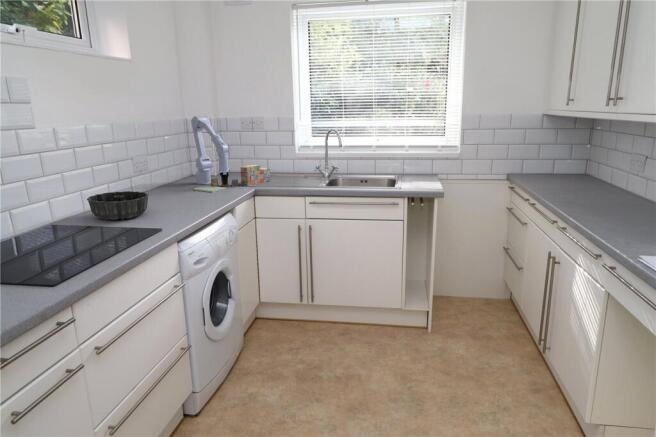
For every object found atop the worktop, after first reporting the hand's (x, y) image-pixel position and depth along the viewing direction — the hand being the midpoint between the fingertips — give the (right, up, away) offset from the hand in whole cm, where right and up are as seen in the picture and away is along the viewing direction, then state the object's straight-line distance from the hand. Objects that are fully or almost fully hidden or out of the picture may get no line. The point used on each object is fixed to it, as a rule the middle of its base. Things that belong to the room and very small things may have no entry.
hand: (224, 184), depth 284 cm
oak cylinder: (-6, -2, -1) cm, 7 cm away
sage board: (-7, -4, -12) cm, 14 cm away
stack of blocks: (+18, +1, +12) cm, 22 cm away
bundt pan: (-32, -22, -75) cm, 85 cm away
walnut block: (0, -1, 0) cm, 1 cm away
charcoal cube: (+6, -1, +2) cm, 7 cm away
